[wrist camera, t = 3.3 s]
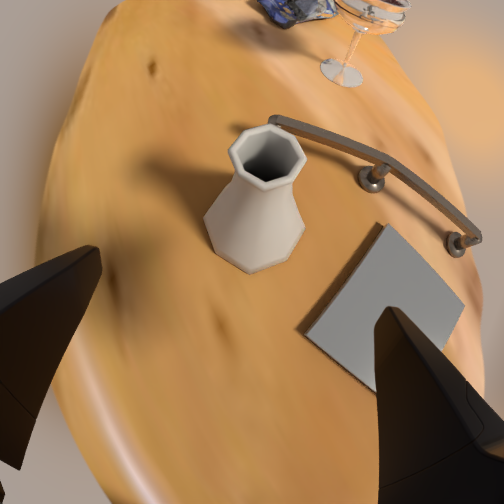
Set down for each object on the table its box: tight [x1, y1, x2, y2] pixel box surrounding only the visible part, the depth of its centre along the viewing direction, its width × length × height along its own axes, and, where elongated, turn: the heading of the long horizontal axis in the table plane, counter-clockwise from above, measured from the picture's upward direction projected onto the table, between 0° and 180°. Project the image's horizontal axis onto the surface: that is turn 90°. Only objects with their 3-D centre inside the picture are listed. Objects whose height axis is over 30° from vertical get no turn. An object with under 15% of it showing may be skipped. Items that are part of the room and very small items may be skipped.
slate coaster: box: [304, 223, 465, 393], centre depth 20 cm, size 11×11×1 cm
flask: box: [203, 123, 307, 275], centre depth 16 cm, size 7×7×10 cm
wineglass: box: [320, 0, 411, 87], centre depth 20 cm, size 7×7×12 cm
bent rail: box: [268, 115, 482, 258], centre depth 21 cm, size 4×22×4 cm, turn 65°
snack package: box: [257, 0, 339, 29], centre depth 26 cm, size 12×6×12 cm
